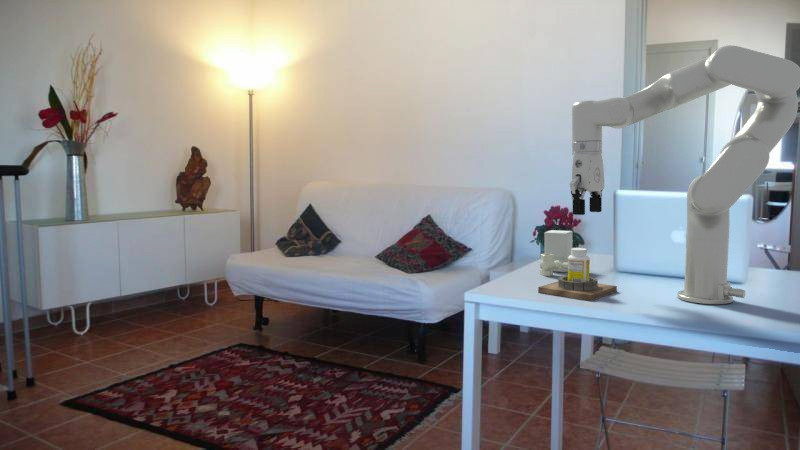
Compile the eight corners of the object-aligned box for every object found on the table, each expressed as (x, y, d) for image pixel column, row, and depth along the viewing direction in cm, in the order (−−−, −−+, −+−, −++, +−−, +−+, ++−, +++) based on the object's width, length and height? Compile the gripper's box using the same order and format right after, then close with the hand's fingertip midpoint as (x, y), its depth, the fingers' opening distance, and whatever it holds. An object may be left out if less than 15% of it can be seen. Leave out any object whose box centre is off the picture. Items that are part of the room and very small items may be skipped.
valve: (539, 277, 187) (580, 278, 184) (539, 255, 186) (580, 256, 183) (540, 273, 193) (579, 274, 190) (540, 252, 192) (580, 253, 189)
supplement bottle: (582, 283, 167) (582, 247, 166) (593, 287, 162) (594, 249, 161) (563, 285, 166) (564, 247, 165) (574, 289, 161) (575, 250, 160)
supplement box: (572, 269, 199) (573, 230, 198) (566, 272, 193) (566, 233, 192) (550, 267, 203) (551, 229, 202) (543, 270, 197) (543, 231, 196)
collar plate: (616, 291, 164) (617, 278, 164) (590, 300, 154) (590, 287, 153) (566, 284, 175) (566, 272, 174) (538, 292, 164) (538, 279, 164)
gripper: (585, 147, 152) (585, 216, 154) (614, 148, 165) (614, 211, 167) (558, 149, 157) (558, 215, 159) (588, 149, 170) (588, 210, 172)
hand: (587, 213), depth 163 cm, fingers open, 9 cm apart
